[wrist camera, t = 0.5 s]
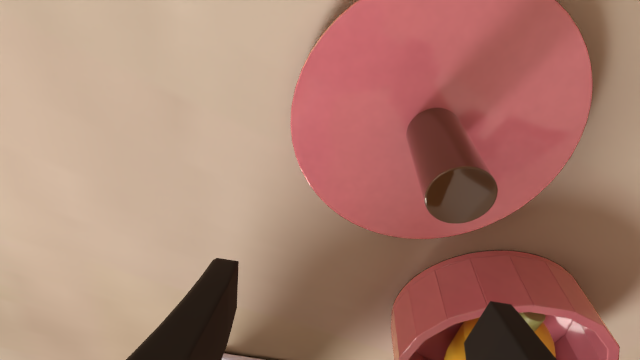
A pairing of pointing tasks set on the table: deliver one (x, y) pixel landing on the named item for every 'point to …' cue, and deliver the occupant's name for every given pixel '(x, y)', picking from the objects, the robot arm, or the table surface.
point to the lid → (440, 111)
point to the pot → (498, 286)
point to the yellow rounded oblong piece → (456, 350)
